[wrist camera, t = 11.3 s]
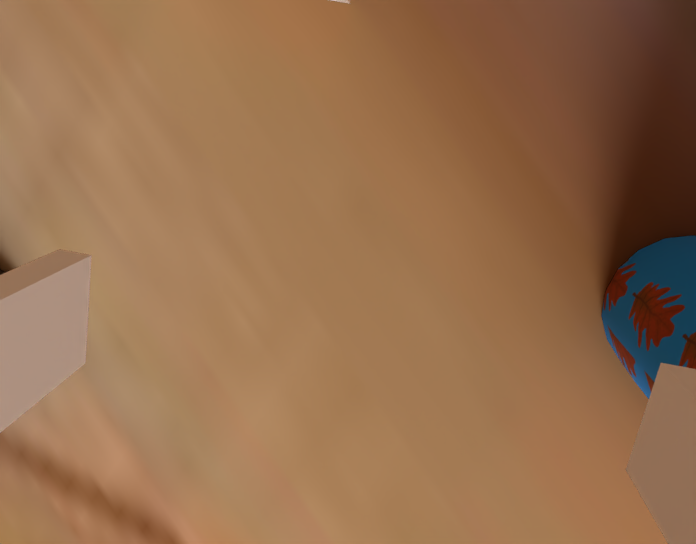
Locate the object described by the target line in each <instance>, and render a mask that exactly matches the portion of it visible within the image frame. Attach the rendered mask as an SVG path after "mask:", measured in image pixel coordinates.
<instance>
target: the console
mask: <svg viewBox="0 0 696 544" xmlns="http://www.w3.org/2000/svg"><path fill="white" fill-rule="evenodd" d="M332 1H338V2H344V3H350V0H332Z"/></svg>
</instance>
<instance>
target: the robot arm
mask: <svg viewBox="0 0 696 544" xmlns="http://www.w3.org/2000/svg"><path fill="white" fill-rule="evenodd" d="M90 272H91V255H88V254H82V253H77V252H72V251H66V250H61V249H59V250H57V251H54V252H52V253H50V254H48V255H45V256H43V257H41V258H38V259H36V260H34V261H31V262H29V263H27V264H24V265H22V266H20V267H17V268H15V269H13V270H11V271H8V272H6V273H5V272H3V271H2V270H1V269H0V433H1V432H2V431H3V430H4V429H5V428H7V427H8V426H9V425H10V424H12V423H13V422H14V421H15V420H16V419H18V418H19V417H20V416H21V415H23V414H24V413H25V412H26V411H28V410H29V409H30V408H31V407H32V406H34V405H35V404H36V403H37V402H39V401H40V400H41V399H42V398H43V397H45V396H46V395H47V394H48V393H50V392H51V391H52V390H53V389H55V388H56V387H57V386H58V385H59V384H61V383H62V382H63V381H64V380H66V379H67V378H68V377H69V376H70V375H72V374H73V373H74V372H75V371H77V370H78V369H79V368H80V367H82V366H83V365H84V364H85V363H86V346H87V327H88V309H89V290H90ZM626 471H627V473H628V474H629V476H630V478H631V480H632V481H633V483H634V485H635V487H636V488H637V490H638V492H639V494H640V495H641V497H642V499H643V501H644V502H645V504H646V506H647V508H648V509H649V511H650V513H651V515H652V516H653V518H654V520H655V522H656V523H657V525H658V527H659V529H660V530H661V532H662V534H663V536H664V537H665V539H666V541H667V543H668V544H696V369H692V368H687V367H682V366H676V365H671V364H666V363H661V364H660V367H659V370H658V373H657V376H656V379H655V382H654V385H653V388H652V391H651V394H650V397H649V401H648V404H647V407H646V410H645V413H644V416H643V419H642V422H641V425H640V428H639V431H638V434H637V437H636V440H635V443H634V446H633V449H632V452H631V455H630V459H629V462H628V465H627V468H626Z"/></svg>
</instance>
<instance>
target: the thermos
mask: <svg viewBox="0 0 696 544" xmlns="http://www.w3.org/2000/svg"><path fill="white" fill-rule="evenodd" d="M602 320H603V324H604V329H605V333H606V337H607V340H608V342H609V343H610V345H611V347H612V348H613V350H614V351H615V353H616V355H617V356H618V358H619V359H620V361H621V363H622V364H623V365H624V367H625V368H626V370H627V371H628V372H629V374H630V375H631V376H632V378H633V379H634V381H635V382H636V383H637V385H638V386H639V387H640V389H641V390H642V391H643V392H644V394H645V395H646V396H647V397H648V399H649V397H650V394H651V391H652V388H653V385H654V382H655V379H656V376H657V373H658V370H659V367H660V364H661V363H666V364H671V365H676V366H682V367H687V368H692V369H696V236H694V235H692V236H683V237H673V238H665V239H662V240H660V241H658V242H656V243H653V244H651V245H649V246H647V247H644V248H642V249H640V250H638V251H637V252H636V253H635V254H634V255H633V256H632V257H630V258H629V259H628V260H627V261H626V262H625V263H624V264H623V265H622V266H620V267H619V268H618V270H617V272H616V273H615V275H614V277H613V279H612V280H611V282H610V284H609V286H608V288H607V289H606V291H605V297H604V303H603V310H602Z"/></svg>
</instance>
